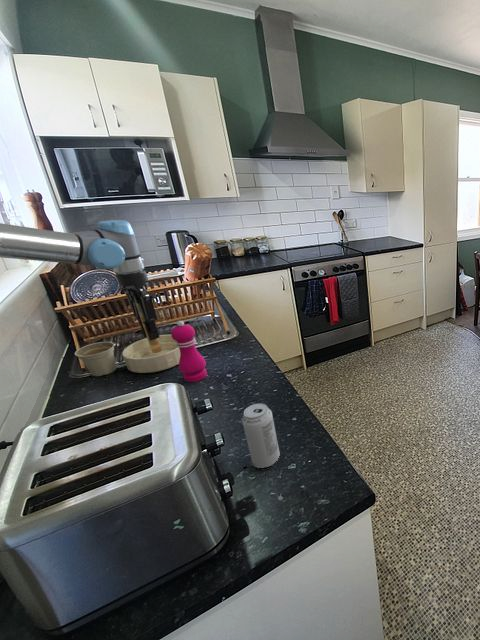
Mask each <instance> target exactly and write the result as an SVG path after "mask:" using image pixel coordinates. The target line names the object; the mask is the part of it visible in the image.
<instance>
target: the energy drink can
mask: <svg viewBox="0 0 480 640" xmlns="http://www.w3.org/2000/svg"><path fill="white" fill-rule="evenodd" d="M241 422H242V427H243V430H244V435H245V439H246V443H247V448H248V451H249V456H250V460H251V464H252V466H253V467H254V468H257V469H259V468H264V467H269V466H271V465H273V464H274V463H275V462H276V461H277V462H278V460H279V459H280V457H281V453H280V452H281V451H280V448H279V442H278V438H277V432H276V431H277V430H276V427H275V421H274V417H273V411H272V410H271V409H270V408H269V407H268V405H267V404H265V403H263V402H262V403H260V402H259V403H253V404H251V405H249V406H247V407H246V408H245V409H244V410H243V416H242V418H241ZM279 456H280V457H279ZM278 458H279V459H278ZM277 462H276V463H277ZM273 466H274V465H273Z"/></svg>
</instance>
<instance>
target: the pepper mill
mask: <svg viewBox="0 0 480 640" xmlns="http://www.w3.org/2000/svg"><path fill="white" fill-rule="evenodd" d="M170 334H171V336H172V338H173V339H174V340H175V341H176V344H177V347H179V349H180V360H179V364H178V369H179V371H180V372H181V373H182V374H183V379H184V381H185V382H188V383H195V382H199V381H202V380H203V379H205V378H206V377H207V376H208V372H207V369H206V366H207V362H206V359H205V357H204V356H203V355H202V354H201V353H200V352H199V351H198V349H197V346H196V343H197V341H196V338H195V336H196V330H195V328H194V327H193V326H191V325H189V324H185V322H184V321H183V320H178V321H177V322H176V326H175V327H173V328H172V329H171V333H170Z"/></svg>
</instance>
